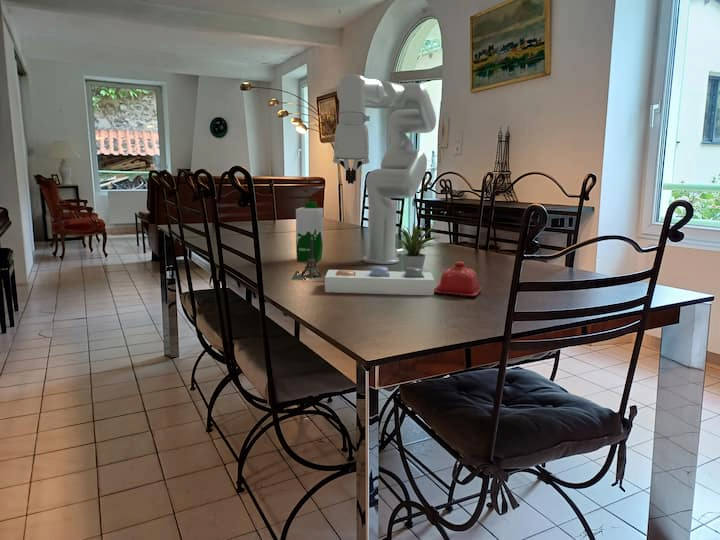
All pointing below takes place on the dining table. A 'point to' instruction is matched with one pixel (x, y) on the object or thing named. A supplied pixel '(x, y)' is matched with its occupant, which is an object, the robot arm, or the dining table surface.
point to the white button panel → (379, 283)
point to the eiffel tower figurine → (309, 267)
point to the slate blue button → (379, 271)
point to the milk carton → (309, 231)
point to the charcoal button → (413, 272)
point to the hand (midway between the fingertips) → (350, 183)
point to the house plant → (414, 247)
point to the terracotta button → (345, 273)
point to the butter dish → (458, 281)
